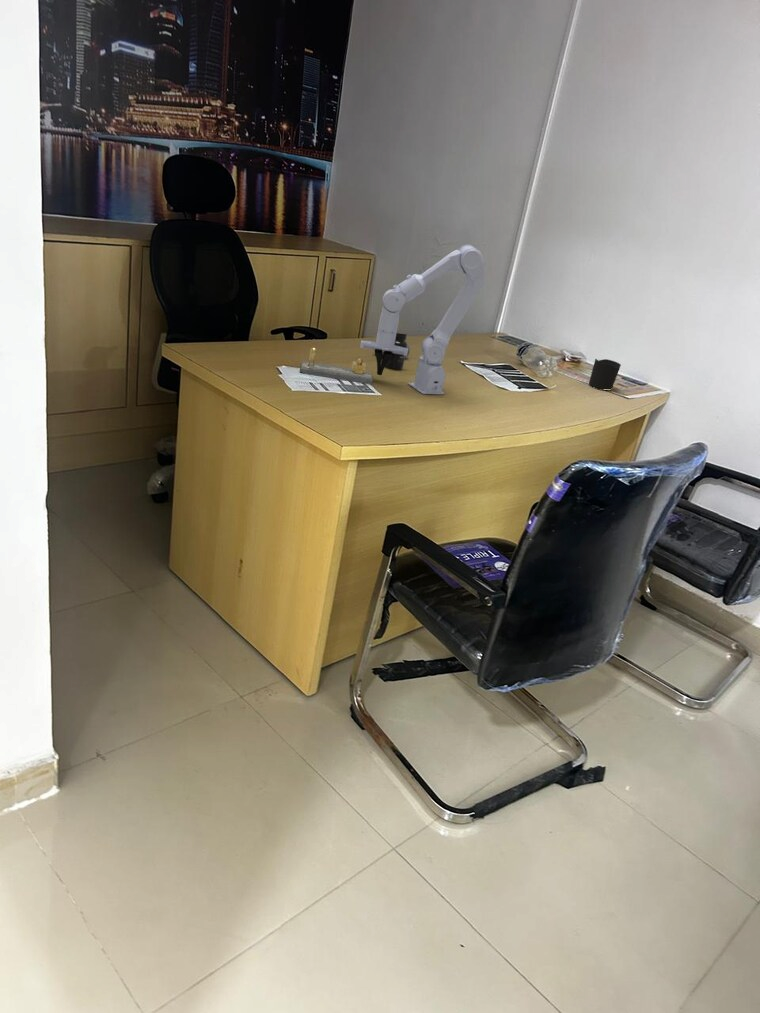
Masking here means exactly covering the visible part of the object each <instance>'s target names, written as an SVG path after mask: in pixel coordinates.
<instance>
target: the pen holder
mask: <svg viewBox="0 0 760 1013" xmlns="http://www.w3.org/2000/svg"><path fill="white" fill-rule="evenodd" d="M621 366H622V365H621V363H620V362H618V361H614V360H611V359H606V358H605V359H599V360H598V359H597V358H595V359H594V363H593V367H592V370H591V374H590V377H589V382H588V385H589V387H591V386H592V387H591V388H593V387H595V388H597V389H596V390H599V389H611V388H612V389H613V387H614V385H615V382H616V380H617V376H618V374H619V371H620V369H621ZM595 388H594V389H595Z"/></svg>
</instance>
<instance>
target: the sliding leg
mask: <svg viewBox="0 0 760 1013" xmlns="http://www.w3.org/2000/svg"><path fill="white" fill-rule="evenodd" d="M351 369H352V372H355V373H359V374H365V371H367V363H366V362H363V358H361V357H358V358H357V361H354V360H353V361H352V365H351Z"/></svg>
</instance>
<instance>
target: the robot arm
mask: <svg viewBox="0 0 760 1013" xmlns="http://www.w3.org/2000/svg"><path fill="white" fill-rule="evenodd" d="M485 265H486V264H485V259H484V257H483V254H482V252H481V251H480V250H479V249H478V248H475V246H473V245H472V244H464V245H462V246H460V247H459V248H458V249H456V250H453V251H452V252H450V253H449V254H447V255H445V256H444V257H443V258H442V259H440V260H439V261H437V262H436V263H435V264H434V265H432V266H431V267H429V268H428V269H427V270H425V271H424V272H422V273H421V274H417V273H414V274H412V275H411V274H408V275H407V276H406V279H405V280H403V281H401V282H400V283H399V284H394V285H393V286H392V287H393V288H392V289H388V290H387V291H385V293H384V294H383V296H382V304H383V305H382V307H381V313H380V316H379V322H378V327H377V333H376V337H375V338H376V339H375V340H376V341H369V340H363V339H362V340H360V345H359V348H360V349H368V350H374V355H375V359H376V374H377V375H378V376H382V375H383V372H384V370H385V368H386V367H385V366H386V364H387V363H388V361H389V360H390V359H391V357H392V353H396V354H402V355H404V356H407V353H408V348H403V347H399V346H395V345H394V343H395V338H396V333H397V330H398V327H399V321H400V312H401V310H402V309H403V307H404V304H405V303H406V304H407V303H408V302H410V301H412V300H413V299H415V298H416V297H418V296H419V295H421V294H423V293H424V292H425V291H426V286H427V285H428V284H430V283H431V282H433V281H435V280H436V279H438V278H439V277H441V276H442V275H444V274H446V273H447V272H449V271H461V270H462V273H463V278H464V281H465V282H464V283H463V285H462V286H461V288H460V290H459V292H458V293H457V295H456V297H455V298H454V299H453V302H452V303H451V305H450V306H449V308H448V309H447V311H446V313H445V314H444V316H443V318H442V319H441V321H440V322H439V324H438V326H437V327H436V328H435V329H434V330H433V331H432V332H431V334H430V335H429V336H427V337H426V338H424V339H423V341H422V343H421V351H422V354H421V355H420V356H419V358H418V364H417V368H416V371H415V372H416V374H415V377H414V381H413V382H408V385H409V386H411V387H412V388H414V389H415V390H416V391H418V392H419V393H420V394H422V395H423V394H424V395H444V394H445V393H444V392H443V389H444V385H445V381H446V376H447V375H446V374H447V373H446V370H445V369H444V368H443V359H444V358H445V356H446V350H447V347H448V346H449V343H450V340H451V337H452V335H453V333H454V332H455V331H456V329H457V327H458V326H459V325H460V323H461V321H462V320H463V318H464V316H465V315H466V313H467V311H468V310H469V309H470V307H471V305H472V304H473V302H474V301H475V299H476V297H477V295H478V294H479V292H480V291H481V290H482V288H483V286H484V276H485V275H484V274H485ZM407 357H408V356H407Z"/></svg>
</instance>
